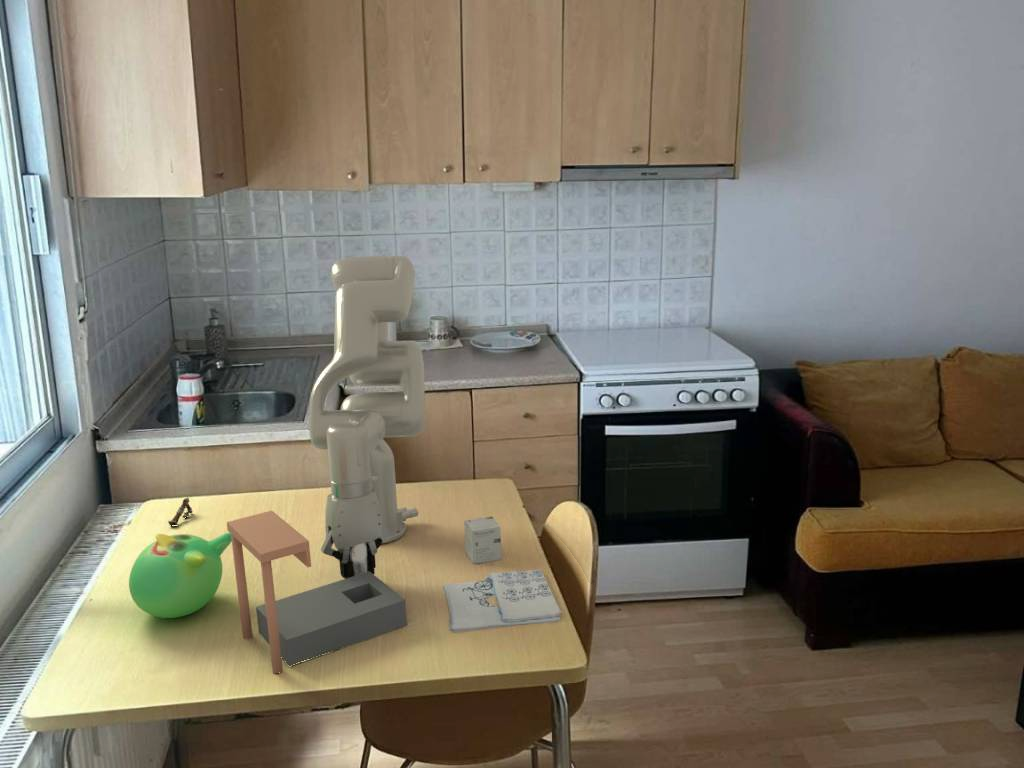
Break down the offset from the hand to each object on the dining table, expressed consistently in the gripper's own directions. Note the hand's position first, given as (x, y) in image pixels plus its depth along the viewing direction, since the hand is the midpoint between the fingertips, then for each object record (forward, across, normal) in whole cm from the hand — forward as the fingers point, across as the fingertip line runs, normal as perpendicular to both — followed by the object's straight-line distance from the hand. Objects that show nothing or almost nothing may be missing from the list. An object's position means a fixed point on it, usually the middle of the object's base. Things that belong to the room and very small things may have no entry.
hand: (358, 574), depth 182 cm
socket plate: (+2, +11, +12) cm, 16 cm away
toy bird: (+3, +30, -12) cm, 32 cm away
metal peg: (+2, 0, 0) cm, 2 cm away
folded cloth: (+3, -18, +22) cm, 28 cm away
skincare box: (+3, -26, +4) cm, 26 cm away
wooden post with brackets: (+3, +18, -55) cm, 58 cm away
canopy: (+2, +21, +12) cm, 24 cm away
